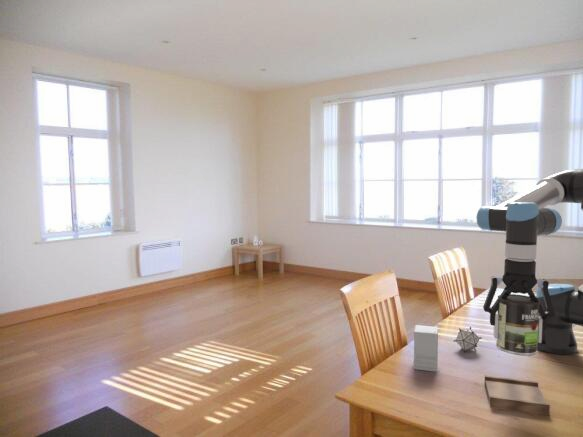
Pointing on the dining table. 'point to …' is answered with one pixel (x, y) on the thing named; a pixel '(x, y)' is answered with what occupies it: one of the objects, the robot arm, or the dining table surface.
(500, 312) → the coffee can
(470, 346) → the spiky polyhedron ball
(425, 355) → the supplement box
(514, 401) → the board
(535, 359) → the dining table surface
